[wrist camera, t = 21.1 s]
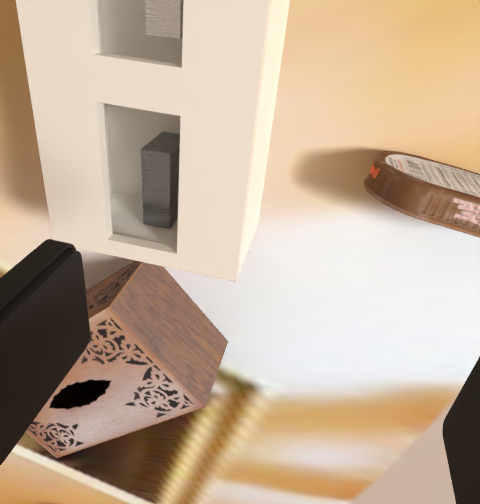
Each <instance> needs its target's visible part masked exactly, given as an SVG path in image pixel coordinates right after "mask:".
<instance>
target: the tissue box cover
mask: <svg viewBox="0 0 480 504" xmlns="http://www.w3.org/2000/svg"><path fill="white" fill-rule="evenodd" d="M86 299H87V308H88V316H89V325H90V340H89V343H88V346H87V347H86V349H85V350H84V352H83V353H82V355H81V356H80V357H79V359H78V360H77V361H76V363H75V364H74V366H73V367H72V368H71V370H70V371H69V372H68V374H67V375H66V377H65V378H64V379H63V381H62V382H61V383H60V385H59V386H58V388H57V389H56V390H55V392H54V393H53V394H52V396H51V397H50V399H49V400H48V401H47V403H46V404H45V405H44V407H43V408H42V410H41V411H40V412H39V414H38V415H37V416H36V418H35V419H34V421H33V422H32V423H31V425H30V426H29V427H28V429H27V430H26V431H25V432H26V433H27V434H29V435H30V436H31V437H32V438H33V439H35V440H36V441H37V442H38V443H39V444H41V445H42V446H43V447H44V448H45V449H47V450H48V451H49V452H50V453H51V454H53V455H54V456H55V457H56V458H58V457H61V456H64V455H67V454H70V453H73V452H76V451H79V450H82V449H85V448H87V447H90V446H93V445H96V444H99V443H102V442H105V441H108V440H111V439H114V438H116V437H119V436H122V435H125V434H128V433H131V432H134V431H137V430H140V429H143V428H146V427H148V426H151V425H154V424H157V423H160V422H163V421H166V420H169V419H172V418H175V417H177V416H180V415H183V414H186V413H189V412H192V411H195V410H198V409H201V408H204V407H205V406H206V404H207V401H208V398H209V395H210V392H211V389H212V386H213V383H214V381H215V378H216V375H217V372H218V369H219V366H220V363H221V360H222V358H223V355H224V352H225V349H226V346H227V343H228V341H227V340H226V339H225V337H224V336H223V335H222V334H221V333H220V332H219V331H218V329H217V328H216V327H215V326H214V325H213V324H212V322H211V321H210V320H209V319H208V318H207V317H206V316H205V314H204V313H203V312H202V311H201V310H200V309H199V307H198V306H197V305H196V304H195V303H194V302H193V301H192V299H191V298H190V297H189V296H188V295H187V294H186V292H185V291H184V290H183V289H182V288H181V287H180V286H179V284H178V283H177V282H176V281H175V280H174V279H173V278H172V276H171V275H170V274H169V273H168V272H167V271H166V269H165V268H164V267H163V266H159V265H154V264H149V263H145V262H140V261H134V262H133V263H131V264H129V265H128V266H126V267H125V268H123V269H121V270H120V271H118V272H116V273H115V274H113V275H112V276H110V277H108V278H107V279H105V280H103V281H102V282H100V283H98V284H97V285H95V286H94V287H92V288H90V289H89V290H87V291H86Z"/></svg>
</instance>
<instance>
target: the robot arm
mask: <svg viewBox="0 0 480 504" xmlns="http://www.w3.org/2000/svg"><path fill="white" fill-rule="evenodd" d="M89 340H90V325H89V316H88V308H87V299H86V290H85V282H84V273H83V265H82V257H81V254H80V252H78V251H76V248H75V246H74V245H73V244H70V243H66V242H61V241H56V240H52V239H48V240H46V241H44V242H43V243H42V244H41V245H39V246H38V247H37V248H36V249H35V250H33V251H32V252H31V253H30V254H29V255H27V256H26V257H25V258H24V259H23V260H22V261H20V262H19V263H18V264H17V265H16V266H14V267H13V268H12V269H11V270H10V271H8V272H7V273H6V274H5V275H4V276H2V277H1V278H0V465H1V464H2V463H3V462H4V460H5V459H6V458H7V456H8V455H9V453H10V452H11V451H12V449H13V448H14V447H15V445H16V444H17V442H18V441H19V440H20V438H21V437H22V436H23V434H24V433H25V431H26V430H27V429H28V427H29V426H30V425H31V423H32V422H33V421H34V419H35V418H36V416H37V415H38V414H39V412H40V411H41V410H42V408H43V407H44V405H45V404H46V403H47V401H48V400H49V399H50V397H51V396H52V394H53V393H54V392H55V390H56V389H57V388H58V386H59V385H60V383H61V382H62V381H63V379H64V378H65V377H66V375H67V374H68V372H69V371H70V370H71V368H72V367H73V366H74V364H75V363H76V361H77V360H78V359H79V357H80V356H81V355H82V353H83V352H84V350H85V349H86V347H87V346H88V343H89ZM443 439H444V444H445V449H446V454H447V459H448V464H449V469H450V474H451V479H452V485H453V490H454V494H455V499H456V504H480V357H479V359H478V361H477V363H476V364H475V366H474V368H473V370H472V371H471V373H470V375H469V377H468V379H467V380H466V382H465V384H464V386H463V387H462V389H461V391H460V393H459V395H458V396H457V398H456V400H455V402H454V403H453V405H452V407H451V409H450V411H449V412H448V414H447V416H446V418H445V420H444V423H443Z"/></svg>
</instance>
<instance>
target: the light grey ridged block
mask: <svg viewBox="0 0 480 504" xmlns="http://www.w3.org/2000/svg"><path fill="white" fill-rule="evenodd" d="M183 4H184V0H145V7H146V35H152V36H160V37H168V38H176V39H182V38H183Z"/></svg>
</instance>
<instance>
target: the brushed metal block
mask: <svg viewBox="0 0 480 504" xmlns="http://www.w3.org/2000/svg"><path fill="white" fill-rule="evenodd" d="M179 156H180V134H175V133H169V132H162V133H160V134H159V135H158V136H157V137H155V138H154V139H153V140H152V141H150V142H149V143H148V144H146V145H145V146H144V147H143V148H141V171H142V200H143V224H146V225H151V226H156V227H161V228H166V229H170V228H171V227H172V225H173V224H174V223H175V221H176V220H177V219H178V193H179Z"/></svg>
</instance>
